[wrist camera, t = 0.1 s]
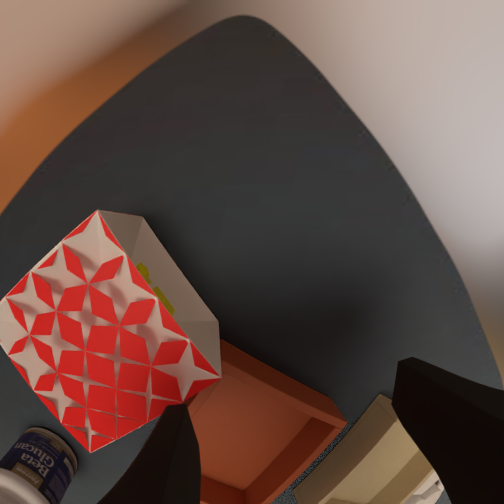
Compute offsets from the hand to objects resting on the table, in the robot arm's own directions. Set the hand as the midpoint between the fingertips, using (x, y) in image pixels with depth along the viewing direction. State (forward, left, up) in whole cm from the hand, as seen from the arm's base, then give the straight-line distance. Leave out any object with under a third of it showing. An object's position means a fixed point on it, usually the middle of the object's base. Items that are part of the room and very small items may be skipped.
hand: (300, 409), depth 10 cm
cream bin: (-6, -16, -11) cm, 20 cm away
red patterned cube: (-4, +7, -11) cm, 13 cm away
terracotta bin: (-8, -3, -11) cm, 14 cm away
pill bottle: (-20, +8, -11) cm, 24 cm away
